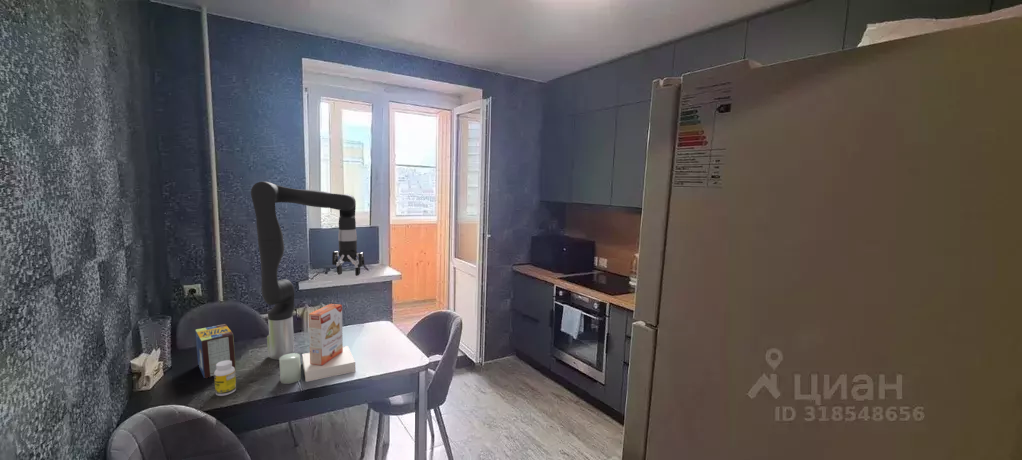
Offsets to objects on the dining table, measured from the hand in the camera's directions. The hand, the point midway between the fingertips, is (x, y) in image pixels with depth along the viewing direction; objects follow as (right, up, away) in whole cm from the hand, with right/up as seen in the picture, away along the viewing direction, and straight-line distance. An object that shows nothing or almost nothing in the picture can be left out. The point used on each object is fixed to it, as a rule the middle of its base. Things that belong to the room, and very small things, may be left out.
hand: (348, 274), depth 183 cm
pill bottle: (-30, -39, -36) cm, 61 cm away
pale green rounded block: (-12, -37, -26) cm, 47 cm away
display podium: (-2, -36, -16) cm, 40 cm away
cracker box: (-2, -33, -16) cm, 36 cm away
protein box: (-46, -36, -18) cm, 61 cm away
